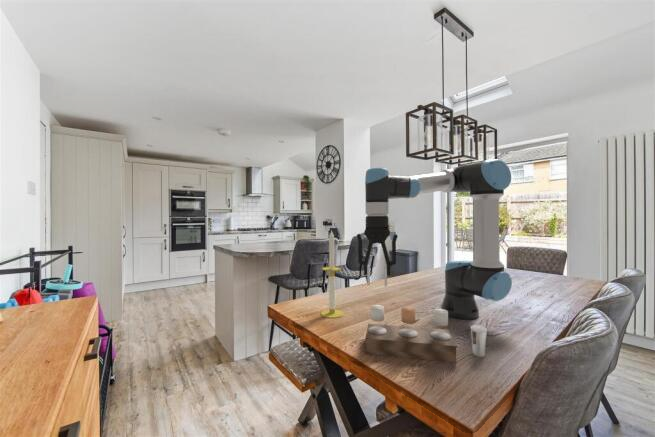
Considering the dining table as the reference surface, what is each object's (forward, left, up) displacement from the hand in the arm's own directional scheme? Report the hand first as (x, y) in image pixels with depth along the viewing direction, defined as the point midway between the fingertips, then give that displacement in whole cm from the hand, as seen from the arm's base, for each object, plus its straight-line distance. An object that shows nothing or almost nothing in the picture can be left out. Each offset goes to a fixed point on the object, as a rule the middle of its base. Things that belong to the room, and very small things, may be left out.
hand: (377, 284), depth 96 cm
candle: (+21, -27, -21) cm, 40 cm away
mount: (-10, 0, -21) cm, 23 cm away
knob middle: (-10, 0, -12) cm, 15 cm away
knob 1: (0, 0, -12) cm, 12 cm away
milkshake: (-31, -1, -21) cm, 37 cm away
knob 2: (-20, 0, -12) cm, 23 cm away
